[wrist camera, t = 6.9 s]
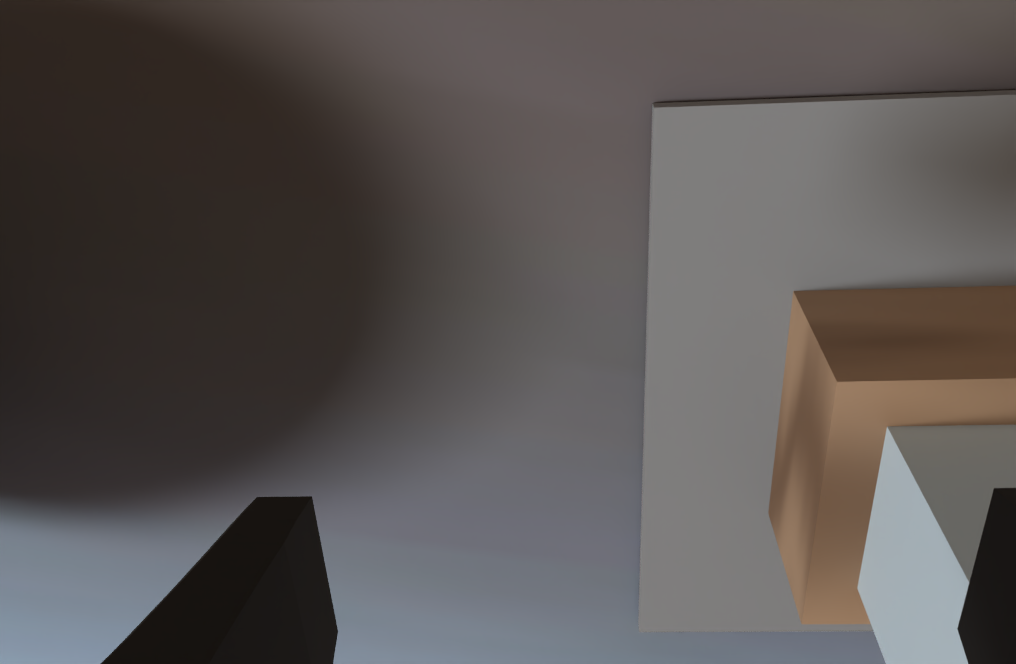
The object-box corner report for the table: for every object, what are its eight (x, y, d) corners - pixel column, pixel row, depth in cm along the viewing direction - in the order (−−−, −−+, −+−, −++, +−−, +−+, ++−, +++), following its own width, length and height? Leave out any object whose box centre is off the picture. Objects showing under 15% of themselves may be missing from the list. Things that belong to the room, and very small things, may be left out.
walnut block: (1025, 510, 22) (1099, 622, 19) (768, 513, 23) (801, 624, 20) (1089, 283, 19) (1189, 375, 16) (793, 290, 20) (836, 381, 17)
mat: (1105, 621, 25) (1111, 630, 24) (638, 623, 25) (639, 632, 25) (1304, 79, 18) (1316, 84, 17) (652, 103, 18) (653, 108, 18)
